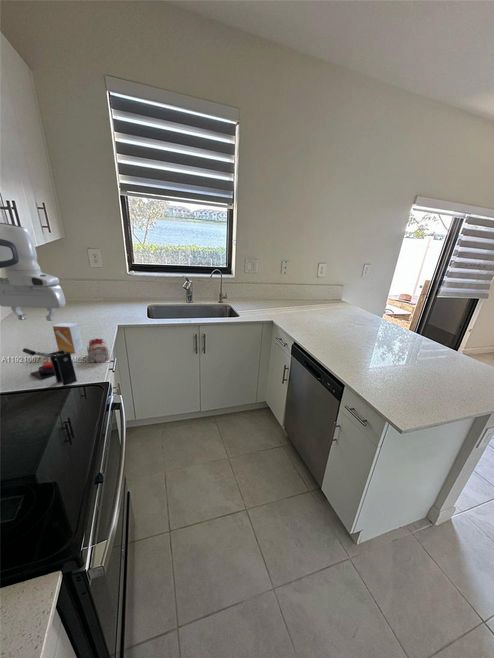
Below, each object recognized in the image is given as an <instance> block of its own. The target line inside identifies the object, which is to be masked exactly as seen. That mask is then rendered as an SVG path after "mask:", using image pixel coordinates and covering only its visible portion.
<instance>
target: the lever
mask: <svg viewBox="0 0 494 658" xmlns="http://www.w3.org/2000/svg"><path fill="white" fill-rule="evenodd" d="M22 352H23V353H25V354H27V355H30V356H40V357H45V358H50V357H51V358H54V360H56V356H57V355H60V354H58V353H56V355H52V354H50V353H46V352H40V351H36V350H32V349H29V348H23V349H22ZM56 361H57V360H56Z"/></svg>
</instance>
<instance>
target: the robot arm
mask: <svg viewBox="0 0 494 658" xmlns="http://www.w3.org/2000/svg"><path fill="white" fill-rule="evenodd" d="M37 258H38V253H37V249H36V246H35V243H34V240H33V238H32V235H31V234H30V232H29V230H28V229H26V228H25V227H23V226H21V225H18V224H13V223H7V222H0V269H3V268H4V270H5V273H6V276H7V277H0V307H3V308H4V307H5V308H7V307H8V308H11V311H12V312H13V313H14V314H15V315H16V316H17V319H18V320H19V321H25V320H27V318H28V317H27V314H26V313H23V312H22V311H21V309H22V308H32V309H33V308H35V309H46V310H47V312H48V314H47V315H45V318H46V321H47V322H53V321H55V316H54V315H55V314H56V311H57V309H62V308H64V307H65V306H66V303H67V302H66V297H65V295H64V290H63V289H62V287H61V286H60V285H59V284H60V279H59V278H58V277H57V276H54V275H51V274H47V273H44V272H43V271H42V269H41V267H40V265H39V262H38V259H37Z"/></svg>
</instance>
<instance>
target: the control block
mask: <svg viewBox="0 0 494 658" xmlns="http://www.w3.org/2000/svg"><path fill="white" fill-rule="evenodd" d="M30 376H31V377H35V378H37V379H38V380H41V381H43V380H46V379H49V378H52V377H55V373H54V370H53V368H50V369H43V365H41V366H39V367H38V370H36V371H32V372H30Z"/></svg>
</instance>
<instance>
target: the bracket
mask: <svg viewBox="0 0 494 658" xmlns="http://www.w3.org/2000/svg"><path fill="white" fill-rule="evenodd" d="M56 353H58V354H60V355H57V356H56V360H57V361H56V360H54V358H51V357H49V358H50V362H52V366H53V370H54V373H55V376H54V377H55V381H56V383H57V384H58V383H59V384H60V383H61V384H62V385H63V386H67V385H70V384H73V383H75V382H78V380H77V376H76V372H75V368H74V364H73V358H72V355H71V354H72V353H69V352H64V351H63V350H61V351H59V350H58V351H53V352H50V353H49V354H52V355H56Z"/></svg>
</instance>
